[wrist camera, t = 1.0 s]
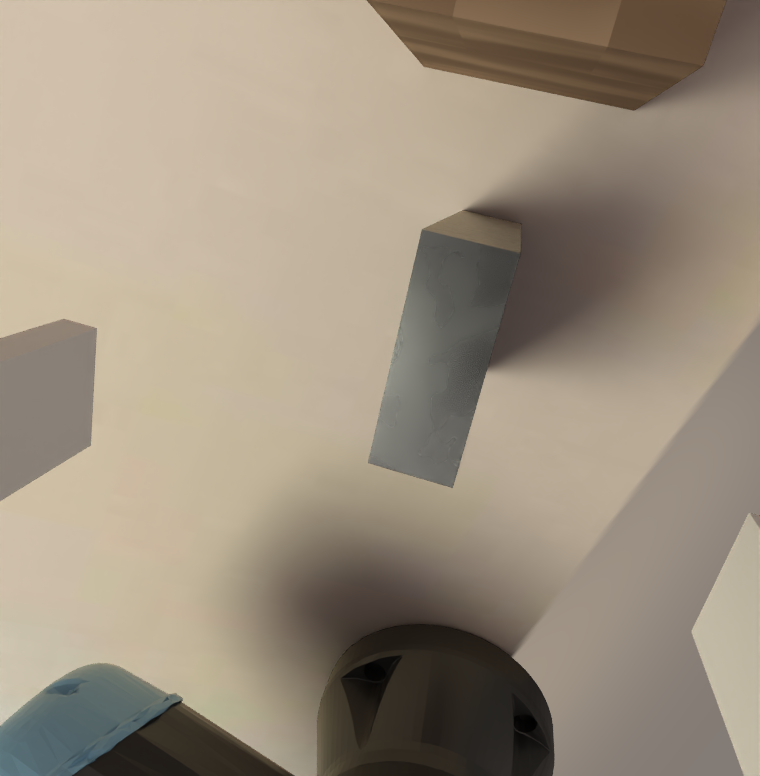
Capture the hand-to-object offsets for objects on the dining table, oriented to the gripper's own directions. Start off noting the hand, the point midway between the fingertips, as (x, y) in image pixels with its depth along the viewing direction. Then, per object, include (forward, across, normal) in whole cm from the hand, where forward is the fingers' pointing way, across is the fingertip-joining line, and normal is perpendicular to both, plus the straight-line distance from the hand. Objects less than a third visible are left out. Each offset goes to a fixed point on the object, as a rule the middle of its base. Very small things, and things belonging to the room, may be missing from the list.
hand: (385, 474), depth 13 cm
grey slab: (+22, 0, 0) cm, 22 cm away
